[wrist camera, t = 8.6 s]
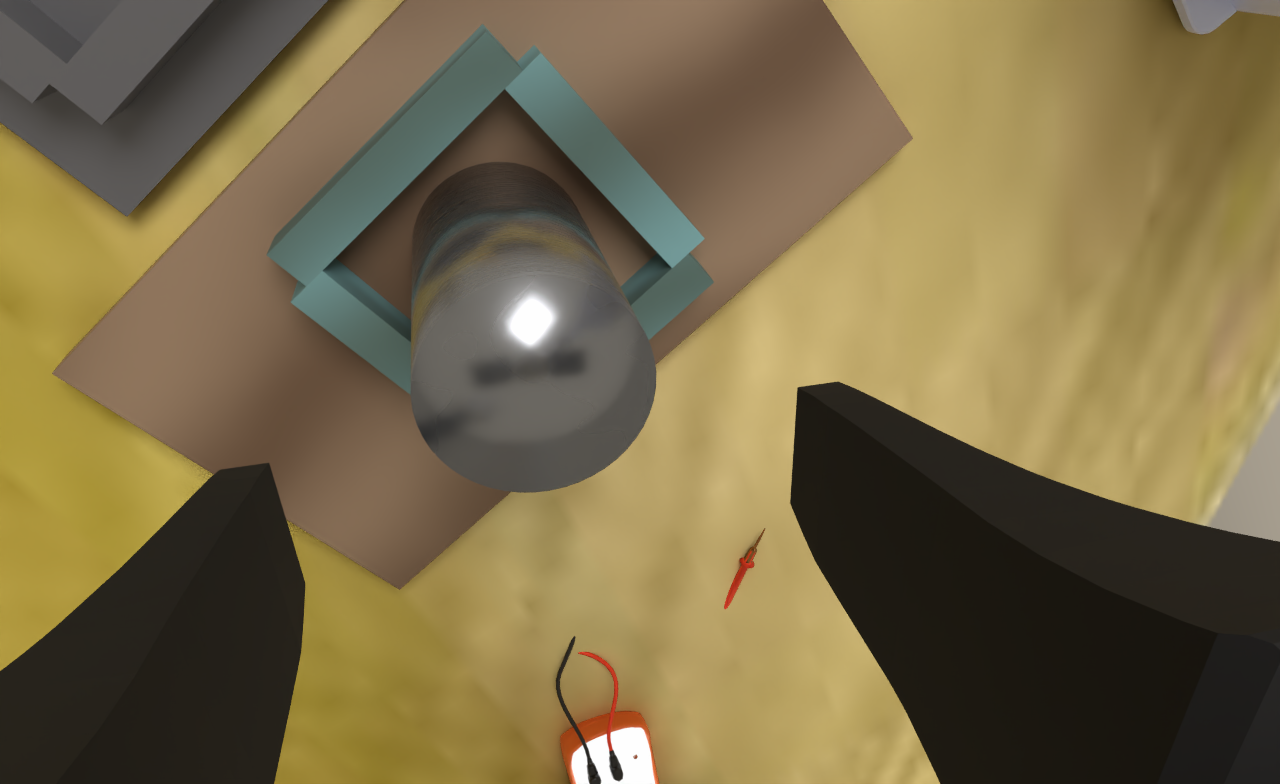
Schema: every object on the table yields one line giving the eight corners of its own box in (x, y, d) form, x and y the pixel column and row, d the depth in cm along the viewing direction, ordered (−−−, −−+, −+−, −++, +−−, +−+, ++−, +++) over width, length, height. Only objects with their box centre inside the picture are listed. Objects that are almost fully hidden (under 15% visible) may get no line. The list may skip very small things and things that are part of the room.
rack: (897, 130, 22) (938, 150, 20) (400, 571, 25) (398, 620, 23) (643, -253, 17) (668, -270, 15) (64, 357, 20) (31, 399, 18)
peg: (608, 189, 20) (690, 308, 14) (558, 342, 22) (612, 508, 16) (434, 139, 19) (443, 246, 13) (394, 306, 20) (386, 472, 14)
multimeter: (464, 480, 25) (469, 559, 22) (834, 521, 28) (881, 592, 25) (375, 877, 32) (370, 974, 29) (675, 867, 36) (697, 953, 33)
